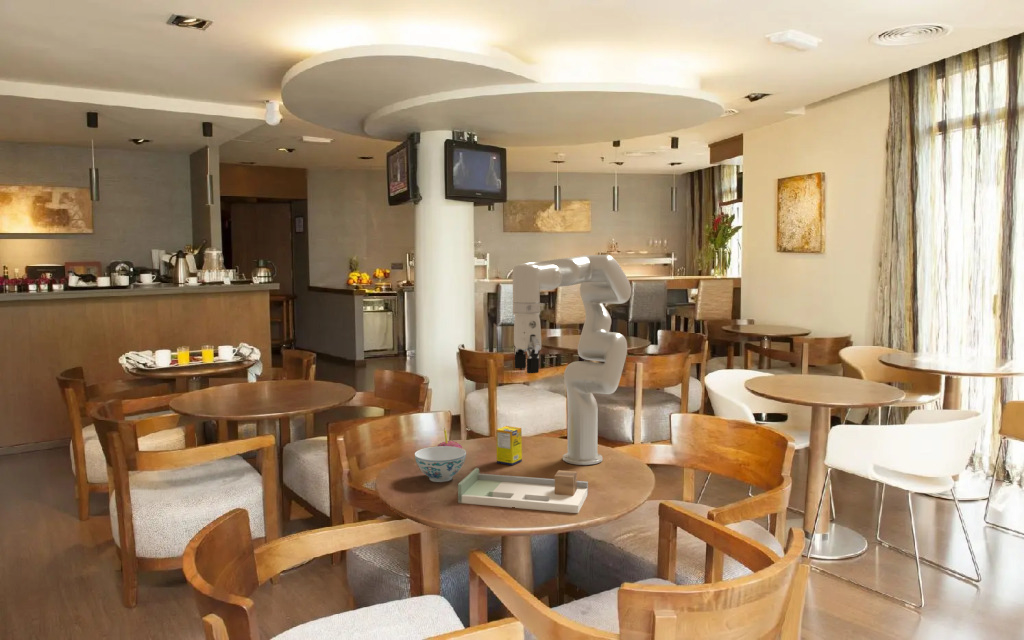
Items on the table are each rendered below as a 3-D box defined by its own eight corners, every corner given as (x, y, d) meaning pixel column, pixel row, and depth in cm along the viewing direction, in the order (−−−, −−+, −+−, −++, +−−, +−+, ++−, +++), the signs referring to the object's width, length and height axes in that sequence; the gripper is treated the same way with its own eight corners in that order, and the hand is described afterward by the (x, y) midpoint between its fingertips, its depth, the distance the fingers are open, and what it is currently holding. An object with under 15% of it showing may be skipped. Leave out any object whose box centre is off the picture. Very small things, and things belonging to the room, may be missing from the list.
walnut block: (558, 488, 190) (558, 470, 190) (576, 489, 189) (576, 471, 188) (554, 494, 185) (554, 475, 185) (573, 495, 184) (573, 477, 183)
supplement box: (522, 461, 223) (522, 427, 222) (512, 466, 218) (511, 431, 217) (506, 458, 226) (506, 425, 226) (496, 463, 221) (495, 429, 220)
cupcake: (451, 469, 215) (451, 430, 214) (430, 465, 220) (429, 427, 219) (468, 462, 223) (467, 425, 222) (446, 458, 227) (446, 422, 226)
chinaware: (477, 477, 206) (476, 452, 206) (438, 490, 196) (437, 463, 195) (443, 468, 217) (442, 443, 216) (404, 479, 206) (404, 453, 205)
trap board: (476, 485, 200) (475, 468, 199) (587, 494, 191) (587, 476, 191) (458, 502, 185) (457, 484, 185) (578, 513, 177) (578, 493, 176)
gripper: (550, 310, 187) (550, 374, 189) (527, 307, 204) (527, 365, 205) (524, 311, 185) (524, 375, 186) (503, 307, 201) (503, 367, 202)
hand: (526, 370), depth 195 cm, fingers open, 9 cm apart
